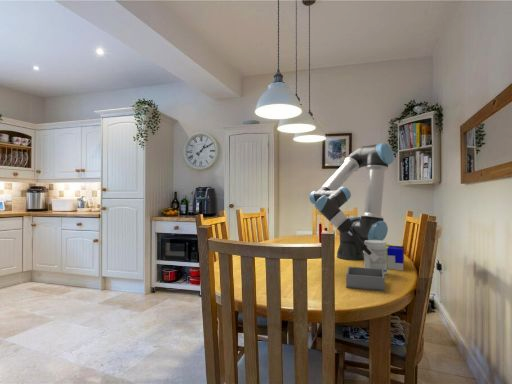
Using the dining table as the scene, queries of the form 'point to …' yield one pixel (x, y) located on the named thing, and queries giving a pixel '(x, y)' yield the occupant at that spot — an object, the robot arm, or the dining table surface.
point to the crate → (365, 278)
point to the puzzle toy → (395, 257)
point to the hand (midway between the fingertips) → (376, 256)
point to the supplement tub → (380, 251)
